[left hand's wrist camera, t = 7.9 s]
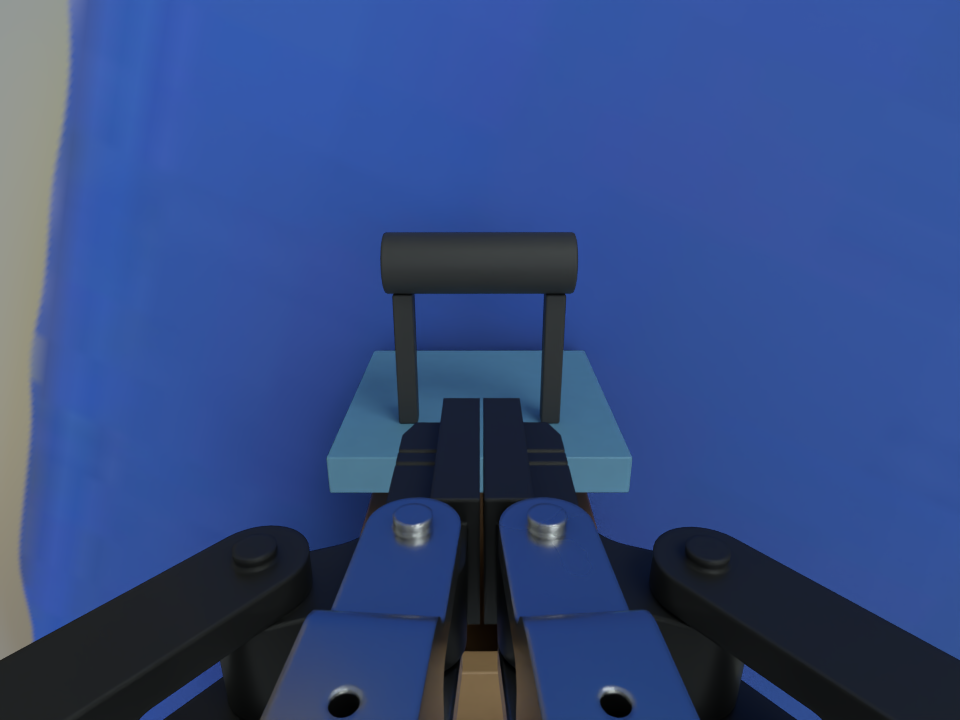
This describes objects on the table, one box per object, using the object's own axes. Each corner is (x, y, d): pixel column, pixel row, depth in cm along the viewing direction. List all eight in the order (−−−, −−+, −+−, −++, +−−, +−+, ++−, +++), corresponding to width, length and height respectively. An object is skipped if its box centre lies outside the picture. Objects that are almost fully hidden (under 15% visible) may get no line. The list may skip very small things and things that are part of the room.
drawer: (364, 203, 24) (304, 249, 16) (594, 203, 24) (653, 248, 16) (397, 700, 33) (370, 890, 25) (561, 699, 33) (588, 890, 25)
